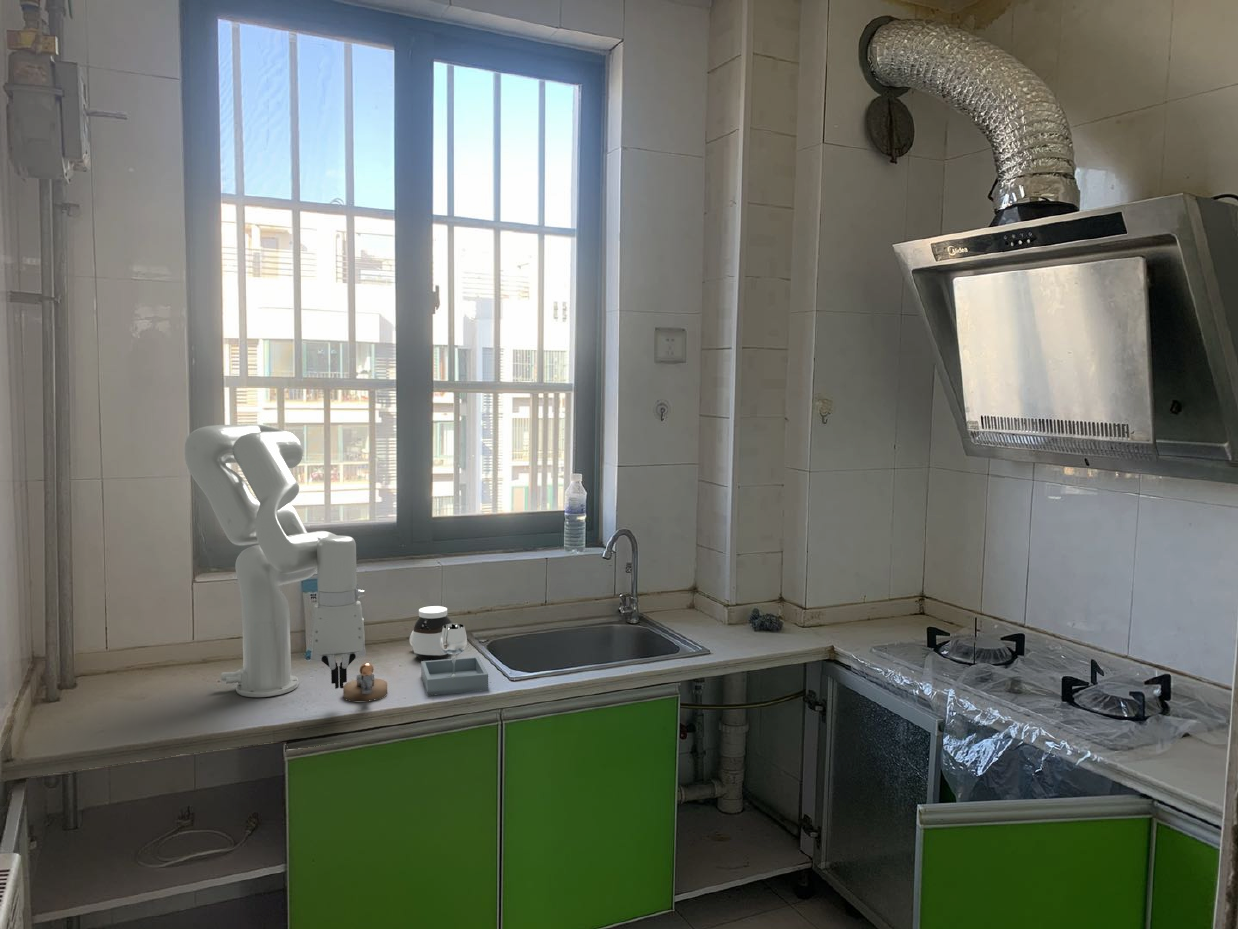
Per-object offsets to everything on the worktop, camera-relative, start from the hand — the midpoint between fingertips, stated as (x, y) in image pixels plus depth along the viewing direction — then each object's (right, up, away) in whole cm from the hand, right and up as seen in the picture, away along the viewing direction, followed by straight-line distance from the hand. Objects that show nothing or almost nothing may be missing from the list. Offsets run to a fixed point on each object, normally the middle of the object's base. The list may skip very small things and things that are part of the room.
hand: (339, 686), depth 177 cm
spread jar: (+10, -2, +38) cm, 39 cm away
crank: (+4, -2, +6) cm, 7 cm away
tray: (+20, -4, +17) cm, 26 cm away
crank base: (+3, -4, +9) cm, 10 cm away
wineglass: (+20, -3, +17) cm, 26 cm away
